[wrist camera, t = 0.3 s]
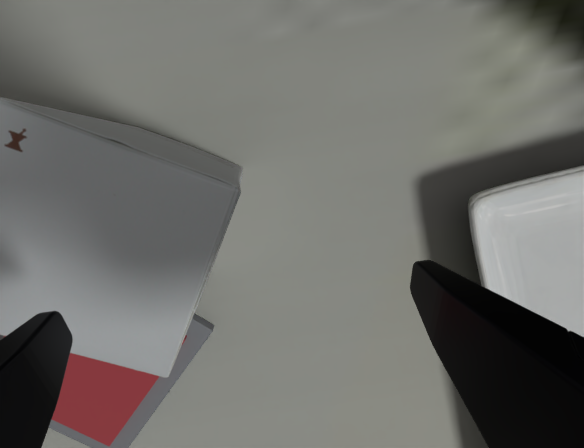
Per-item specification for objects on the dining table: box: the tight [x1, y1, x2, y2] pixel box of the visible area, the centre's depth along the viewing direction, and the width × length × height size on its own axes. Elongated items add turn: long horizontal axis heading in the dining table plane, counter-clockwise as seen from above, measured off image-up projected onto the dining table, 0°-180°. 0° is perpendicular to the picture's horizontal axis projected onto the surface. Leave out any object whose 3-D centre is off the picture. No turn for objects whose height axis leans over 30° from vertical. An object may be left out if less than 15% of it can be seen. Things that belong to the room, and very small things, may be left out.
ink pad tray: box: [0, 314, 214, 448], centre depth 24 cm, size 12×12×1 cm
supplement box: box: [0, 97, 243, 378], centre depth 17 cm, size 7×7×13 cm
